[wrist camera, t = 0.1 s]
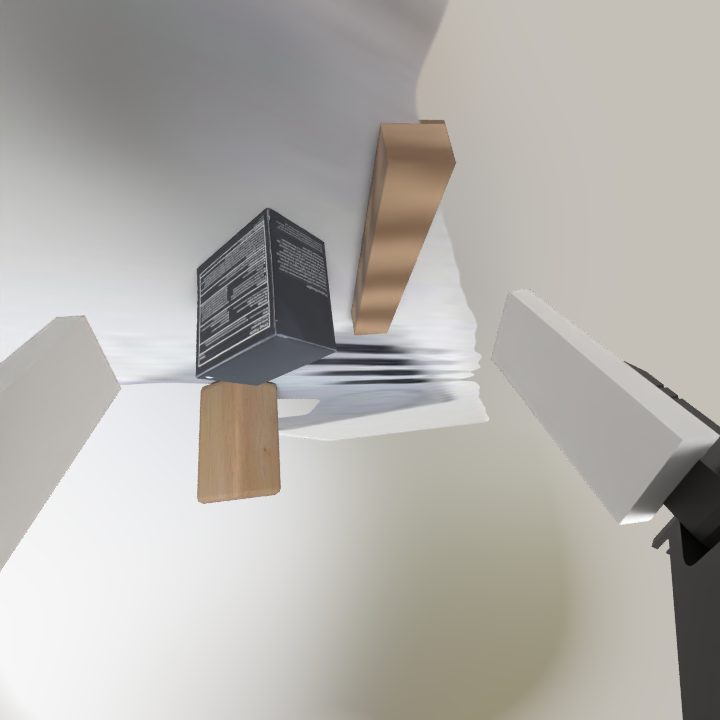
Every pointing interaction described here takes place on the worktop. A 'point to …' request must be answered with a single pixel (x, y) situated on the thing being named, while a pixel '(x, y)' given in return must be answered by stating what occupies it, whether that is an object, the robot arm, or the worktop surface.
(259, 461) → the wooden block
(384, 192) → the long brown wooden bar
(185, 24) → the worktop surface
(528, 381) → the robot arm
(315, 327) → the small box
